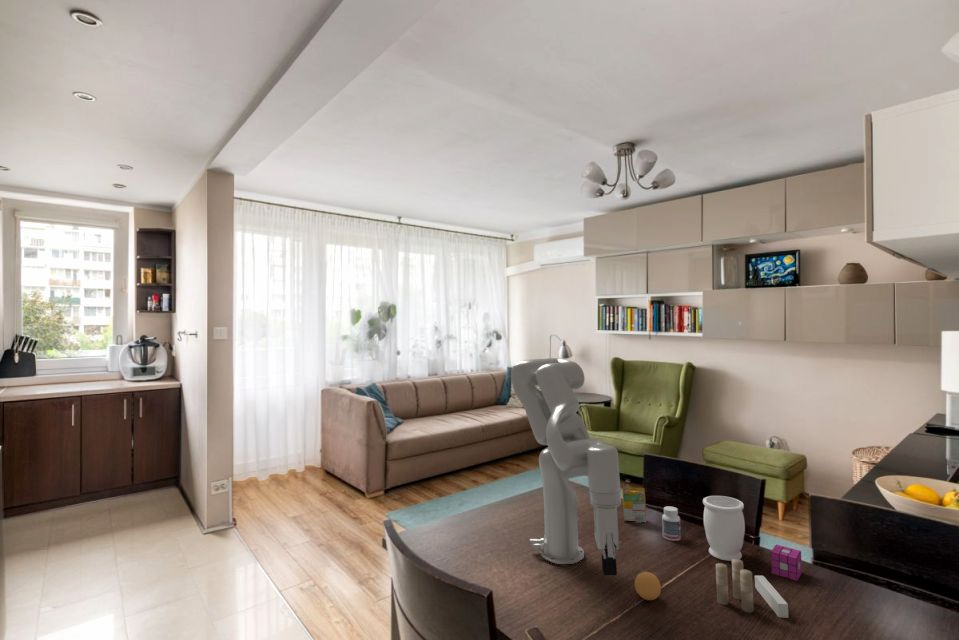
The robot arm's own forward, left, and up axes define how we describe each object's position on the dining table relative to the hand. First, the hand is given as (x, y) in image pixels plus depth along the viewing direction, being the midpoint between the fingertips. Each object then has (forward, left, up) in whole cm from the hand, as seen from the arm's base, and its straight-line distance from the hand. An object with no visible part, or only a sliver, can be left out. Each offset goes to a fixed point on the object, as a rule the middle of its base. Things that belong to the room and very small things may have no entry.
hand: (609, 573), depth 113 cm
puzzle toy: (+47, +16, -6) cm, 50 cm away
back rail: (+37, +2, -6) cm, 38 cm away
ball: (+9, +1, -3) cm, 10 cm away
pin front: (+26, +1, -6) cm, 27 cm away
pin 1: (+30, +4, -6) cm, 31 cm away
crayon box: (+14, +47, -6) cm, 49 cm away
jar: (+35, +25, -6) cm, 43 cm away
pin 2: (+30, -1, -6) cm, 31 cm away
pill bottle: (+23, +35, -6) cm, 42 cm away
